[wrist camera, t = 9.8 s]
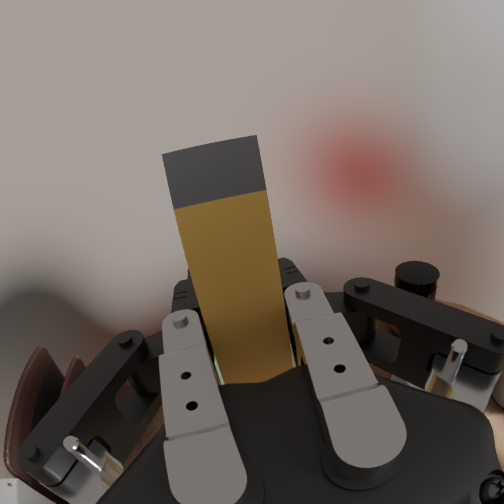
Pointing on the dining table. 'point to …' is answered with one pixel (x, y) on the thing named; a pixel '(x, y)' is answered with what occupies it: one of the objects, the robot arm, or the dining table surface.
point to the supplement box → (19, 493)
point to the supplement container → (416, 282)
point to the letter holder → (42, 410)
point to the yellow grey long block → (232, 255)
